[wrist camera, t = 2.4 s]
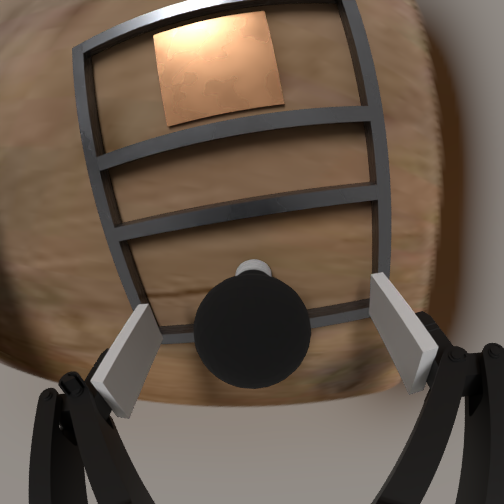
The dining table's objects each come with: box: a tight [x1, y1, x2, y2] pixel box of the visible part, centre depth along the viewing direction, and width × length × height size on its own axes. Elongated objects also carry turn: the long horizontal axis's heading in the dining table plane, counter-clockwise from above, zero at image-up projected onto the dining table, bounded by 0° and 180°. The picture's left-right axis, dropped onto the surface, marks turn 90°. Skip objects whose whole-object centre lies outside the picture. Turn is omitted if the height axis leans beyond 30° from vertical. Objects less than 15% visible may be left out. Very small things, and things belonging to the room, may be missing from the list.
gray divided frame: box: [72, 0, 391, 344], centre depth 17 cm, size 20×25×1 cm
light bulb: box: [194, 259, 311, 389], centre depth 15 cm, size 6×6×10 cm
